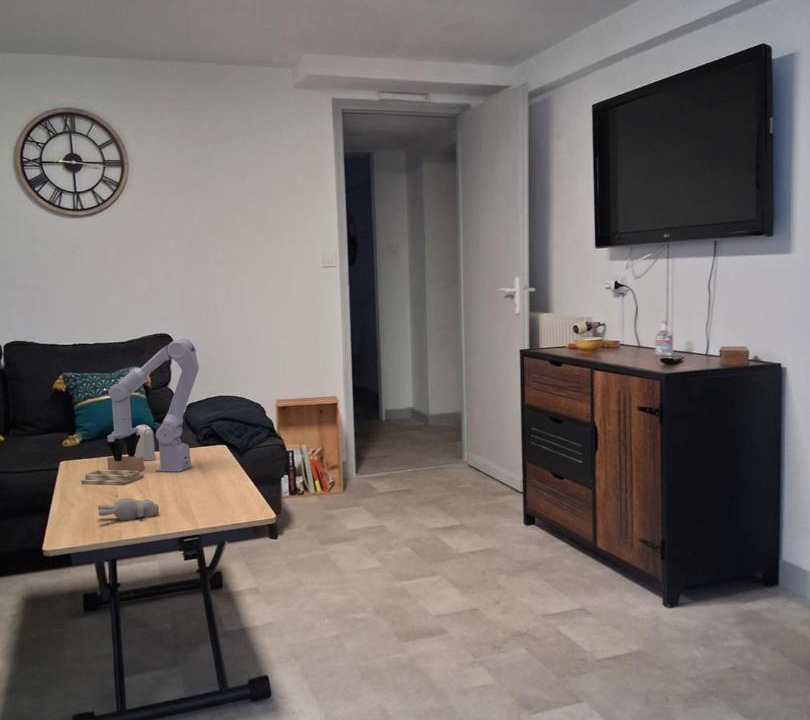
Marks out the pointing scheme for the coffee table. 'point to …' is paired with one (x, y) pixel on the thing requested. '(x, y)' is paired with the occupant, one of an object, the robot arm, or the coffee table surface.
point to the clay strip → (126, 463)
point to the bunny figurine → (130, 509)
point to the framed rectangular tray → (112, 477)
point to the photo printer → (145, 443)
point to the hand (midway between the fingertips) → (125, 458)
